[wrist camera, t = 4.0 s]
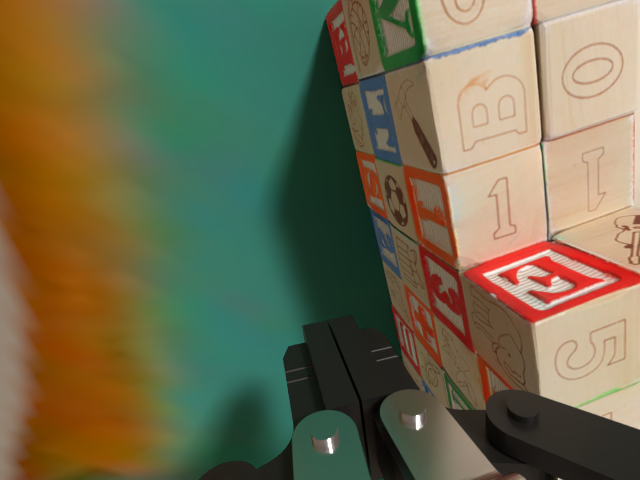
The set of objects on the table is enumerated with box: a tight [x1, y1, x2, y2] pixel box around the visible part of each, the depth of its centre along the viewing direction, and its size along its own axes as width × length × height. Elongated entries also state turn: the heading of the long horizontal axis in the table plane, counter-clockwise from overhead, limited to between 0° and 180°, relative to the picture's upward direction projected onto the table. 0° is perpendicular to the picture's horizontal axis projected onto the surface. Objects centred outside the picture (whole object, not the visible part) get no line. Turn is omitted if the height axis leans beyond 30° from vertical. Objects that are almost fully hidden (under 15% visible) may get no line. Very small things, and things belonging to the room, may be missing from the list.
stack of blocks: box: [326, 0, 640, 480], centre depth 15 cm, size 21×6×12 cm, turn 16°
